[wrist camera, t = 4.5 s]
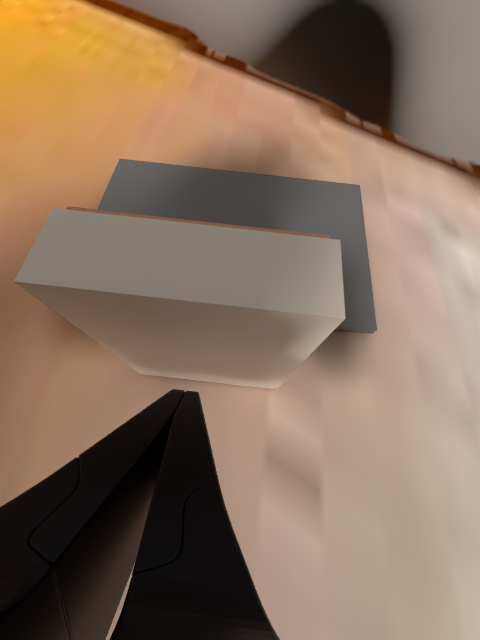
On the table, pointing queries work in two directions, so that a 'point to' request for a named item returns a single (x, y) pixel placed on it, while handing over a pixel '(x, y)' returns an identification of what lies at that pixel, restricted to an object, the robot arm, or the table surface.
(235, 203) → the mat
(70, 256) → the glazed tile
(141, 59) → the table surface
